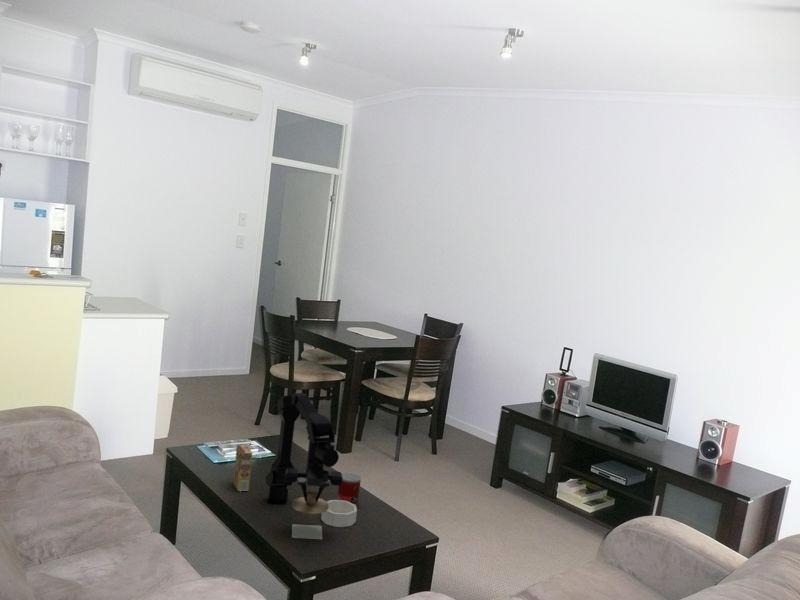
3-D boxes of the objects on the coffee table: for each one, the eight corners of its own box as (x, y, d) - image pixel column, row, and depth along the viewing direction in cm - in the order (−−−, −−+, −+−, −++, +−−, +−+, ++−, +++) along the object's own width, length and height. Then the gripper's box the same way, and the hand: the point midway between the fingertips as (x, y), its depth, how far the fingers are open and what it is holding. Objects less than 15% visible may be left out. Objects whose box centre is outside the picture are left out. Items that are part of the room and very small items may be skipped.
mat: (291, 538, 222) (291, 537, 222) (292, 525, 232) (292, 524, 232) (322, 540, 224) (322, 539, 224) (321, 527, 234) (321, 525, 234)
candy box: (248, 491, 256) (253, 452, 254) (237, 492, 254) (241, 452, 252) (243, 483, 264) (247, 444, 262) (232, 483, 262) (236, 445, 260)
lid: (291, 512, 220) (293, 498, 220) (292, 497, 232) (294, 484, 232) (328, 514, 222) (330, 500, 222) (327, 500, 234) (329, 486, 234)
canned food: (354, 511, 250) (358, 482, 249) (333, 506, 252) (337, 478, 251) (359, 503, 258) (363, 475, 257) (339, 499, 259) (342, 471, 258)
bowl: (321, 527, 234) (323, 513, 233) (320, 512, 246) (322, 499, 245) (356, 529, 236) (357, 515, 235) (353, 514, 247) (355, 501, 247)
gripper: (287, 462, 216) (281, 509, 218) (345, 466, 219) (340, 513, 221) (288, 451, 227) (282, 496, 229) (343, 455, 230) (338, 499, 232)
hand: (310, 501), depth 227 cm, fingers closed on lid, 3 cm apart
